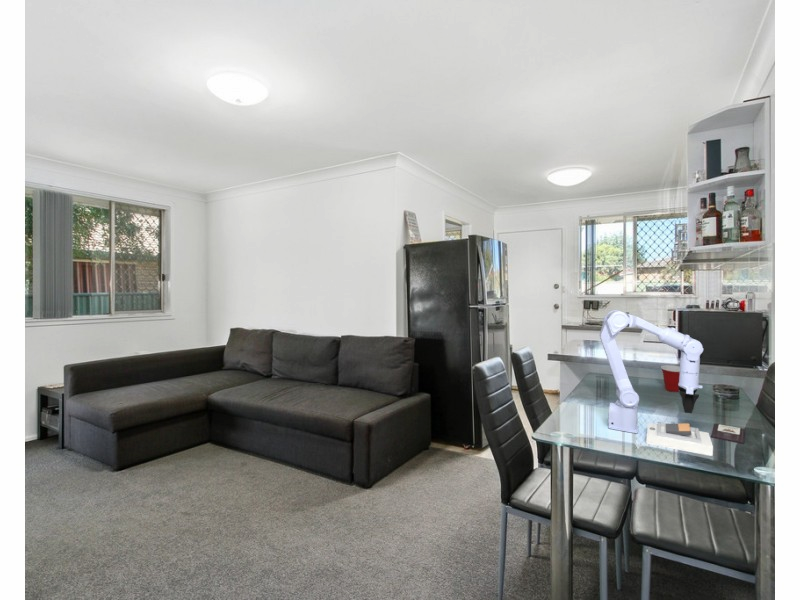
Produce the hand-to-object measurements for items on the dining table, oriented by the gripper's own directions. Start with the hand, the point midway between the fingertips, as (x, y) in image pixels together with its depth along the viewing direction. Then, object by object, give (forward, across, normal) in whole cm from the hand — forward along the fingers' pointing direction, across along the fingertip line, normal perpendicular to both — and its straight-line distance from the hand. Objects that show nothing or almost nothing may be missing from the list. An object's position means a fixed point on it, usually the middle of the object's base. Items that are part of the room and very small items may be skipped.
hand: (687, 409), depth 149 cm
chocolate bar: (+10, +12, -13) cm, 20 cm away
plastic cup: (+10, +74, +2) cm, 75 cm away
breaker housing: (+9, -9, +3) cm, 14 cm away
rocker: (+6, -9, +3) cm, 11 cm away
